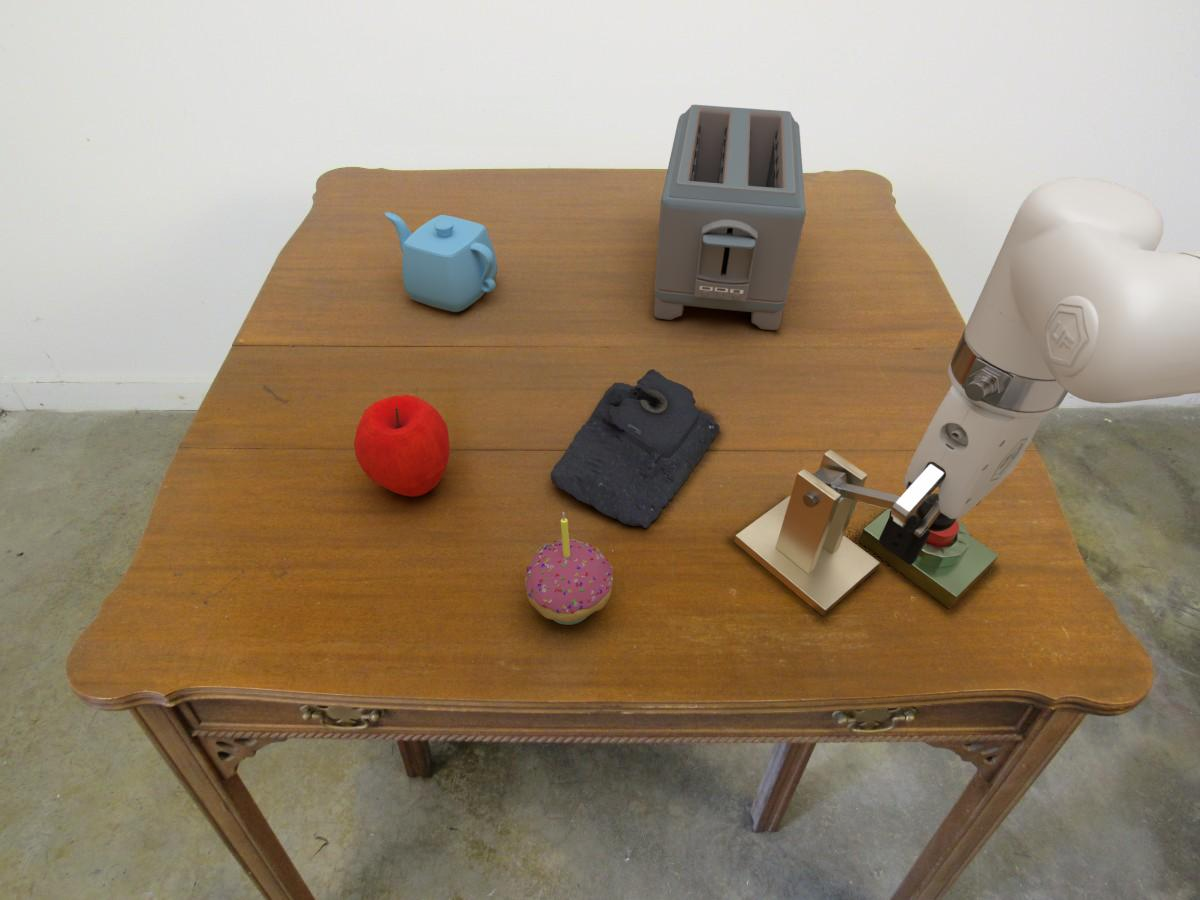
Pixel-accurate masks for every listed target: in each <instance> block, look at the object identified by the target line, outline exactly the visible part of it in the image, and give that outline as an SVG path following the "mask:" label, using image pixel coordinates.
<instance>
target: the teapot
mask: <svg viewBox="0 0 1200 900" xmlns="http://www.w3.org/2000/svg"><path fill="white" fill-rule="evenodd" d="M384 215H385V217H386V218H387V219H388V220H389V221H390V222H391V223H392V224H393V226H394V228H395V230H396V234H397V237H398V242H399V246H400V250H401V253H402V259H401V261H402V262H401V271H402V272H401V275H402V284H403V288H404V291H405V292H406V294H407V295H408V297H409V298H410V299H411V300H412V301H415V302H418V303H421V304H423V305H427V306H430V307H433V308H436V309H440V310H443V311H446V312H447V311H448V312H451V313H452V312H453V313H459V312H461V311H464V310H466V309H467V308H469V307H470V306H472V304H474V303H476V302H477V301H478V300H479V299H481V297H483V296H484V295H485V294H486V293H491V292H494V291H495V289H496V287H497V286H496V285H497V284H496V281H495V280H496V277H497V273H498V261H497V256H496V251H495V247H494V245H493V243H492V239H491V238H490V234H489V232H488V230H487V227H486V226H485V225H483V224H481V223H478V222H475V221H471V220H467V219H464V218H460V217H456V216H451V215H446V214H440V215H437V216H435V217H433V218H431V219H430V220H428V221H427V222H425V223H424V224H422V225H421V226H419V227H418V228H417V229H416V230H415V231H414V232H411V230H410V229H409V227H408V225H407V224H406V222H405V221H404V220H403V218H402V217H400V215H398V214H396V213H393V212H389V211H387V212H384Z"/></svg>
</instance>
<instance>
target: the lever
mask: <svg viewBox="0 0 1200 900" xmlns="http://www.w3.org/2000/svg"><path fill="white" fill-rule="evenodd" d="M811 474H812V475H814V476H815V477H817V478H818V479H819V480H821V481H822V482H824V483H825V484H826V485H828V486H829V487H831V488H832V489H833V490H835V491H836V492H838V493H839V494H840V495H841V498H840V500H839V502H841V501H842V500H843V499H845V498H846V499H850V500H854V501H857V503H862V504H867V505H870V506H875V507H878V508H882V509H886V510H887V509H890V510H891V508H892V506H893V505H894V503H895V502H896V501H897V500H898V499H899V498H900V497H901V496H902V495H898V494H894V493H890V492H885V491H881V490H878V489H873V488H869V487H864V486H863V487H860V486H856V485H851V484H847V479H846V474H845V473H842V472H838V471H833V470H829V469H824V468H821V469H819V468H818V470H817V471H815V472H814V473H811ZM931 494H932V495H933V496H935V497H936V498H938V499H939V493H937V492H936V493H935V492H934V493H931ZM932 507H933V506H932V505H930V504H929V503H927V502H926V501H924V502H923V503H922V504H921V505H920V506H919V508H918V509H917V511H916V514H915V516H916V517H918V518H919V519H921V520H923V519H924V517H925V516H926V515H927V513H928V512H929V511H930V509H931V508H932ZM955 521H956V519H950V518H948V517H947V516H946V515H944V514H942V513H940V514H939V515H938V517H937V518H936V519H935V521H934V522H933V523H932V524H931V526H930V527H929V528H928V530H929V531H933V532H940V531H945V530H947V529H949V528H950V527H951V526H952V525H953V524H954V523H955Z"/></svg>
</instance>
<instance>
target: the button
mask: <svg viewBox="0 0 1200 900" xmlns="http://www.w3.org/2000/svg"><path fill="white" fill-rule="evenodd" d="M958 531H959V524H958V521H957V520H956V521H955V523H954V524H953V525H952V526H951V527H950V528H949V529H947V530H945V531H940V532H933V531H929V532H931V534H930V535H929V537H928V539H927V541H926V543H928V544H930V545H933V546H937V547H945V546H948V545H950V544H951V543H952V541H953V540H954V538H955V536H956V534H957V533H958Z"/></svg>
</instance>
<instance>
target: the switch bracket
mask: <svg viewBox="0 0 1200 900" xmlns="http://www.w3.org/2000/svg"><path fill="white" fill-rule="evenodd" d="M821 468H824V469H829V470H833V471H838V472H842V473H845V474H846V479H847V484H851V485H856V486H860V487H864V486H865V483H866V481H867V478H868V476H869V474H867V473H866V472H865V471H863V470H862V469H860V468H859V467H857V466H856V465H855V464H853V463H851V462H850V461H848V460H847V459H846V458H844V457H842V456H841V455H840V454H838V453H837V452H835V451H834V450H833V449H831V448H830V449H829V450H826V452H825V453H823V456H822V459H821V463H820V465H819V468H818V470H819V469H821ZM812 474H813V473H812V472H810V471H808V469H805V468H802V469H801V470H800V471H798V472H797V474H796V477H795V479H794V484H793V487H792V490H791V493H790V495H788V496H786V497H785V498H784V499H783V500H781V501H780V502H778V503H777V504H776V505H774V506H773V507H771V508H770V509H769V510H768V511H767V512H765V513H764V514H762V515H761V516H760V517H758V518H757V519H755V520H754V521H753V522H751V523H750V524H748V526H746V527H745V528H744V529H741V531H739V532H738V533H737V534H735V536H734V540H733V542H734V544H736V545H737V546H738V547H739V548H741V550H743V551H744V552H745V553H746V554H747V555H749V556H750V557H752V559H754V560H755V561H756V562H757V563H758V564H760V565H761V566H762V567H763V568H764V569H766V570H767V571H768V572H769V573H770V574H771V575H772V576H774V577H775V578H776V579H777V580H779V581H780V582H781V583H782V584H783V585H785V586H786V587H787V588H788V589H789V590H791V592H793V593H794V594H795V595H796V596H798V597H799V598H800V600H802V601H803V602H805V603H806V604H807V605H808V606H809V607H811V608H812V609H813V610H814V611H815V612H817V613H818V615H820V616H822V617H825V616H826V615H827V614H828V613H829V612H830V611H831V610H832V609H834V608H835V607H836V606H837V605H838V604H839V603H840V602H842V601H843V600H844V599H845V598H846V597H847V596H848V595H849V594H851V593H852V592H853V591H854V590H855V589H856V588H857V587H858V586H860V585H861V584H862V583H863V582H864V581H865V580H867V578H869V577H870V576H871V575H872V574H873V573H874V572H875V571H877V570H878V568H879V566H880V564H881V562H880V561H879V560H878V559H877V558H875V557H873V556H872V555H871V554H869V553H868V552H867V551H865V550H864V549H863V548H862V547H860V546H859V545H858V544H856V543H855V542H853V541H852V540H851V539H850V538H848V537H847V536H845V533H846V532H847V530H848V526H849V524H850V522H851V518H852V516H853V513H854V511H855V508H856V506H857V503H858V501H854V500H850V499H846V498H845V499H843V500H842V501H841V502H839V500H840V498H841V495H840V494H839V493H838V492H836V491H835V490H833V489H832V488H831V487H829V486H828V485H826V484H825V483H824V482H822V481H821V480H819V479H818V478H817V477H815V476H814V475H812Z"/></svg>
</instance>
